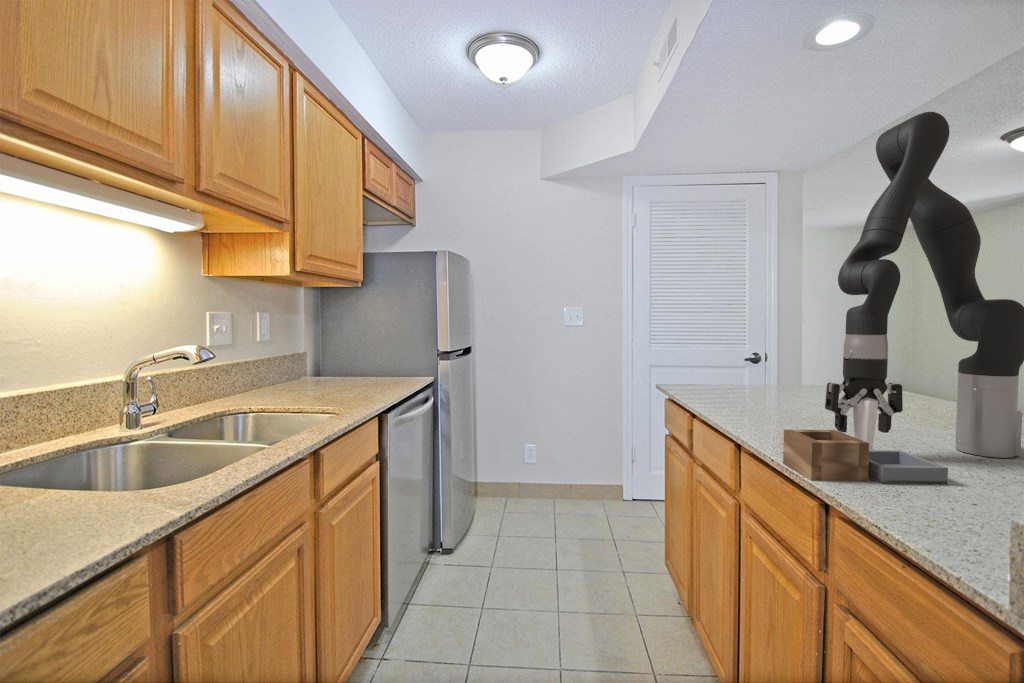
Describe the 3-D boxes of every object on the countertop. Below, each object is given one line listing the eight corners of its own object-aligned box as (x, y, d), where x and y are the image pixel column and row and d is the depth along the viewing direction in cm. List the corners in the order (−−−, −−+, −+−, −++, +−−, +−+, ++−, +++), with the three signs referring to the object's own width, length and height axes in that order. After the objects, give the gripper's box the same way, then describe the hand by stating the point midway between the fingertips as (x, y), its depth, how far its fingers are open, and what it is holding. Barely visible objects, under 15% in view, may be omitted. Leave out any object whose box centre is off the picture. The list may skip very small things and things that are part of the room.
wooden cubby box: (833, 463, 95) (834, 429, 95) (868, 480, 85) (869, 443, 85) (783, 463, 96) (783, 429, 95) (811, 480, 86) (812, 442, 85)
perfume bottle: (854, 459, 98) (856, 388, 97) (846, 453, 102) (848, 385, 102) (880, 460, 97) (882, 389, 96) (871, 454, 101) (873, 386, 100)
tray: (899, 465, 94) (900, 450, 94) (947, 484, 83) (948, 468, 83) (843, 464, 95) (843, 450, 94) (882, 483, 84) (883, 467, 83)
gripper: (887, 354, 102) (884, 428, 103) (819, 354, 103) (817, 427, 104) (914, 357, 94) (911, 436, 95) (841, 357, 95) (838, 435, 96)
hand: (862, 431), depth 99 cm, fingers open, 8 cm apart
